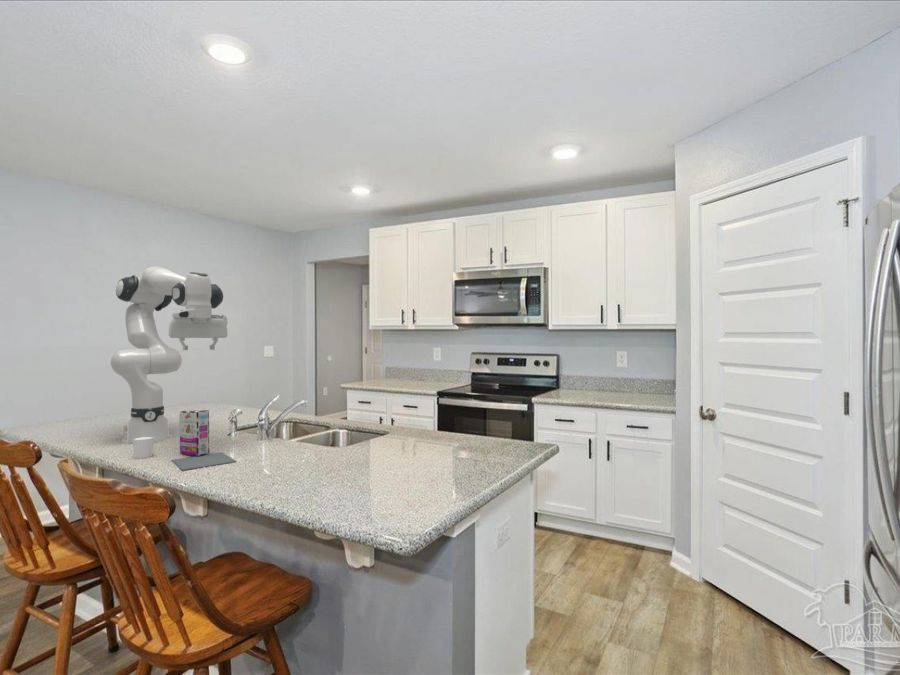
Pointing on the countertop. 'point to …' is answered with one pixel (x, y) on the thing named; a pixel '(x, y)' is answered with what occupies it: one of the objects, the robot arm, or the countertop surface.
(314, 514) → the countertop surface
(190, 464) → the mat
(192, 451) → the candy bar box
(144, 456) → the white cylinder
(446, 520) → the countertop surface
